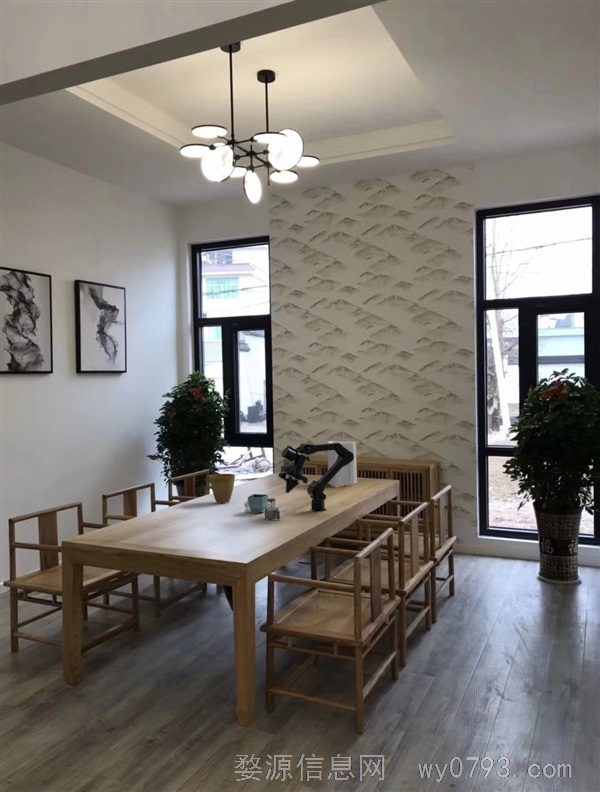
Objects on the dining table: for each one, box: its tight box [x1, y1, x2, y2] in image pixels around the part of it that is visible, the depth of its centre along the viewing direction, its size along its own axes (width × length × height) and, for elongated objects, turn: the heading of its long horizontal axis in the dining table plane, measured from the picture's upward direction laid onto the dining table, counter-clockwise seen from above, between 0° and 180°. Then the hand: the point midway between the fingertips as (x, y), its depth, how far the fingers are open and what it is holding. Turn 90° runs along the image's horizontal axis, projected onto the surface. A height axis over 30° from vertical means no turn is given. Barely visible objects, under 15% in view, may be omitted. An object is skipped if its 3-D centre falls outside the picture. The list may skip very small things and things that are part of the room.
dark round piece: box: [267, 497, 277, 510], centre depth 323 cm, size 5×5×6 cm
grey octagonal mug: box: [264, 506, 281, 521], centre depth 322 cm, size 7×10×5 cm
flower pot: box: [247, 493, 269, 513], centre depth 339 cm, size 9×9×9 cm
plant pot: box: [209, 473, 236, 504], centre depth 370 cm, size 15×15×16 cm
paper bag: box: [327, 440, 358, 486], centre depth 416 cm, size 19×15×28 cm
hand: (286, 492), depth 328 cm, fingers closed
